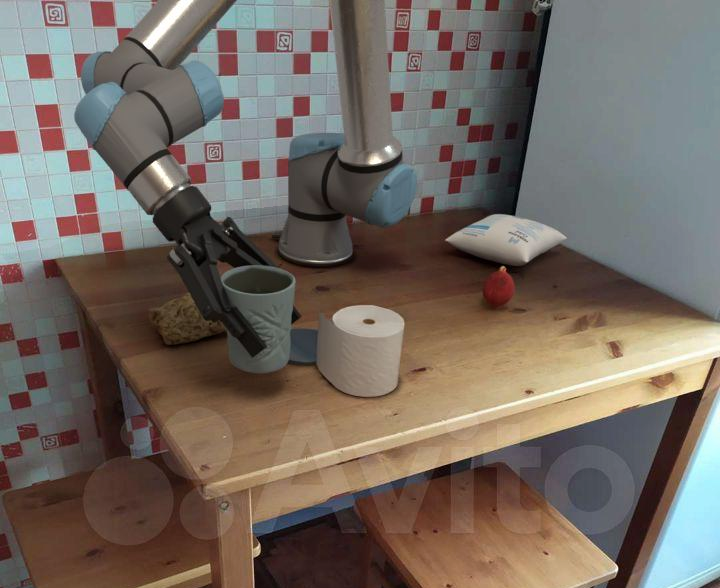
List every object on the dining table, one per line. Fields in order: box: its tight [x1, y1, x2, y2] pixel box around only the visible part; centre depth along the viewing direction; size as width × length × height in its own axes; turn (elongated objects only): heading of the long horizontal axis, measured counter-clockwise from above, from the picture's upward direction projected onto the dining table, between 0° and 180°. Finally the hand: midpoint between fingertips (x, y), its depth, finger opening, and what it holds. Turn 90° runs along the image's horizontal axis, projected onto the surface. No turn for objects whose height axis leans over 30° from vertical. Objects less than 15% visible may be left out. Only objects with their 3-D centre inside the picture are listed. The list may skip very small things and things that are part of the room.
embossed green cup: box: [220, 265, 296, 374], centre depth 105 cm, size 10×10×12 cm
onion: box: [482, 265, 515, 309], centre depth 140 cm, size 6×6×8 cm
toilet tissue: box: [315, 304, 406, 398], centre depth 114 cm, size 11×12×10 cm
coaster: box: [287, 328, 318, 366], centre depth 124 cm, size 12×12×1 cm
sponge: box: [148, 291, 227, 346], centre depth 125 cm, size 13×8×20 cm
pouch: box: [444, 213, 568, 267], centre depth 161 cm, size 8×19×20 cm
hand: (278, 336), depth 106 cm, fingers closed on embossed green cup, 10 cm apart
